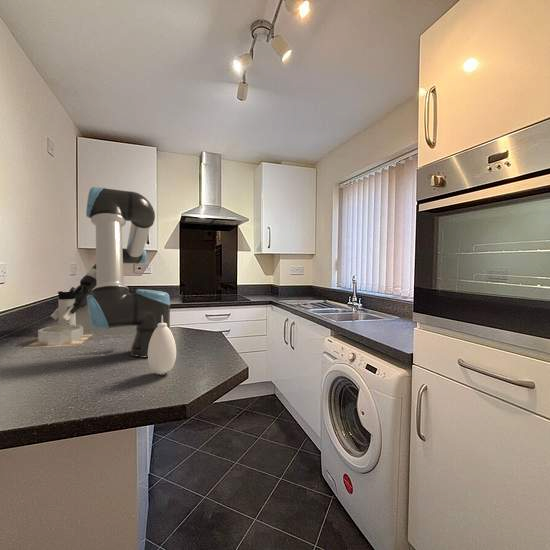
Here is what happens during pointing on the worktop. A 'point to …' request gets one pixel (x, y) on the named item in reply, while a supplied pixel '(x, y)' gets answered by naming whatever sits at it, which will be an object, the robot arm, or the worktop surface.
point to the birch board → (58, 345)
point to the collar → (60, 334)
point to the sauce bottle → (161, 349)
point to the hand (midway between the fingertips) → (59, 318)
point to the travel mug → (66, 307)
